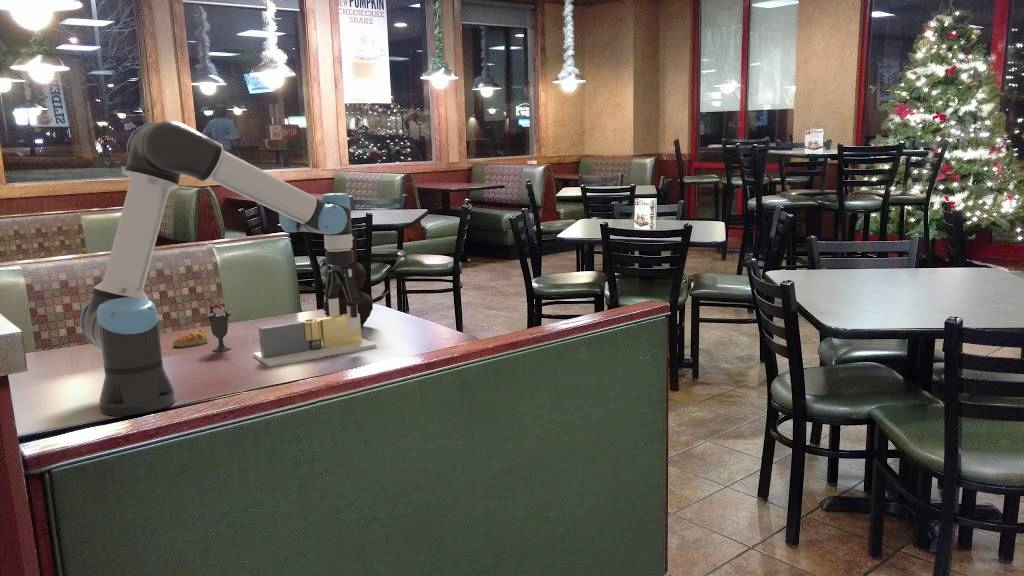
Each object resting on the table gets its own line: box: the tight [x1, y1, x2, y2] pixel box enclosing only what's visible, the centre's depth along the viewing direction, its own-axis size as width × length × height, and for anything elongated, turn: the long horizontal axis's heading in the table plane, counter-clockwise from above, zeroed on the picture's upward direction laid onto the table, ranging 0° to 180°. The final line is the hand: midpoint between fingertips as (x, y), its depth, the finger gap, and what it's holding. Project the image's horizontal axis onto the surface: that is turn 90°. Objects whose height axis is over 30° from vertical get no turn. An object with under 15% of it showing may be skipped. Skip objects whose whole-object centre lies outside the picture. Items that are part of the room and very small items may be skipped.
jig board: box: [252, 337, 377, 368], centre depth 218 cm, size 30×14×1 cm, turn 124°
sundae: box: [205, 298, 232, 353], centre depth 223 cm, size 7×7×15 cm
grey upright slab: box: [258, 319, 322, 358], centre depth 214 cm, size 16×4×8 cm, turn 124°
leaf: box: [300, 314, 362, 348], centre depth 220 cm, size 16×5×8 cm, turn 124°
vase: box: [322, 230, 374, 329], centre depth 244 cm, size 15×15×30 cm
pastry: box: [172, 329, 209, 348], centre depth 233 cm, size 9×7×4 cm
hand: (343, 325), depth 221 cm, fingers open, 13 cm apart
